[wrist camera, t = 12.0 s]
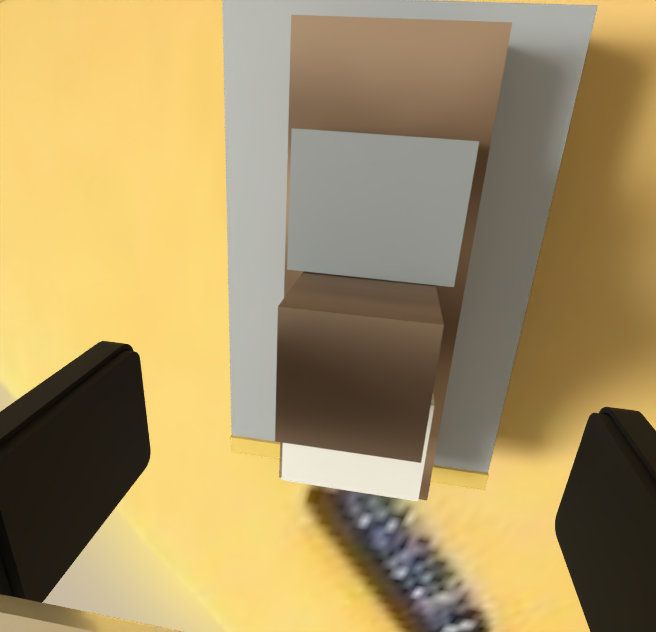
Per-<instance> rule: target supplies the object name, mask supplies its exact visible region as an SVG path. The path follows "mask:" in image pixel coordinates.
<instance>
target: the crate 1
mask: <svg viewBox="0 0 656 632" xmlns="http://www.w3.org/2000/svg"><path fill="white" fill-rule="evenodd" d="M478 146H479V141H469V140H456V139H442V138H427V137H413V136H399V135H384V134H370V133H356V132H341V131H327V130H311V129H294V128H292V133H291V164H290V195H289V225H288V256H287V270H296V271H306V272H315V273H324V274H334V275H343V276H353V277H362V278H372V279H381V280H390V281H400V282H409V283H419V284H428V285H438V286H447V287H454V284H455V278H456V273H457V267H458V261H459V255H460V250H461V244H462V238H463V232H464V227H465V221H466V215H467V209H468V204H469V198H470V192H471V186H472V181H473V175H474V169H475V164H476V158H477V152H478Z"/></svg>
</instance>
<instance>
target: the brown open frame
mask: <svg viewBox="0 0 656 632" xmlns="http://www.w3.org/2000/svg"><path fill="white" fill-rule="evenodd" d="M511 27H512V22H487V21H459V20H430V19H401V18H373V17H344V16H315V15H291V44H290V82H289V121H288V160H287V199H286V238H285V277H284V299H283V300H282V302H281V303H280V304H279V306H278V324H277V372H276V420H275V442H280V471H279V477H281V478H282V448H283V443H289V444H295V445H302V446H309V447H316V448H323V449H329V450H336V451H343V452H350V453H357V454H363V455H370V456H377V457H384V458H391V459H397V460H404V461H411V462H418V463H421V461H422V455H423V449H424V443H425V436H426V430H427V424H428V418H429V412H430V406H431V400H432V394H433V397H434V411H433V417H432V423H431V429H430V435H429V441H428V446H427V452H426V458H425V464H424V470H423V476H422V482H421V487H420V493H419V499H422V500H427V497H428V492H429V486H430V481H431V475H432V469H433V464H434V458H435V453H436V447H437V441H438V436H439V430H440V425H441V419H442V413H443V408H444V402H445V397H446V391H447V385H448V380H449V374H450V369H451V363H452V357H453V352H454V346H455V341H456V335H457V329H458V324H459V318H460V313H461V307H462V301H463V296H464V290H465V285H466V279H467V273H468V268H469V262H470V257H471V251H472V245H473V240H474V234H475V229H476V223H477V217H478V212H479V206H480V201H481V195H482V189H483V184H484V178H485V173H486V167H487V161H488V156H489V150H490V144H491V139H492V133H493V128H494V122H495V116H496V111H497V105H498V100H499V94H500V88H501V83H502V77H503V72H504V66H505V60H506V55H507V49H508V44H509V38H510V32H511ZM292 128H294V129H311V130H327V131H341V132H356V133H370V134H384V135H399V136H413V137H427V138H442V139H456V140H469V141H479V146H478V152H477V158H476V164H475V169H474V175H473V181H472V186H471V192H470V198H469V204H468V209H467V215H466V221H465V227H464V232H463V238H462V244H461V250H460V255H459V261H458V267H457V273H456V278H455V284H454V287H447V286H438V285H428V284H419V283H409V282H400V281H390V280H381V279H372V278H362V277H353V276H343V275H334V274H324V273H315V272H306V271H296V270H287V256H288V225H289V195H290V164H291V133H292Z"/></svg>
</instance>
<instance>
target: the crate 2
mask: <svg viewBox="0 0 656 632" xmlns="http://www.w3.org/2000/svg"><path fill="white" fill-rule="evenodd" d="M433 411H434V397H433V394H432V400H431V406H430V412H429V418H428V424H427V430H426V436H425V443H424V449H423V455H422V461H421V463H418V462H411V461H404V460H397V459H391V458H384V457H377V456H370V455H363V454H357V453H350V452H343V451H336V450H329V449H323V448H316V447H309V446H302V445H295V444H289V443H283V448H282V480H285V481H292V482H298V483H304V484H311V485H317V486H323V487H330V488H336V489H342V490H349V491H355V492H361V493H368V494H374V495H381V496H387V497H393V498H400V499H406V500H412V501H418V499H419V493H420V487H421V482H422V476H423V470H424V464H425V458H426V452H427V446H428V441H429V435H430V429H431V423H432V417H433Z"/></svg>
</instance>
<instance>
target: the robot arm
mask: <svg viewBox="0 0 656 632" xmlns="http://www.w3.org/2000/svg"><path fill="white" fill-rule="evenodd" d="M149 459H150V442H149V433H148V424H147V416H146V407H145V398H144V390H143V381H142V372H141V364H140V357H139V355H138V353H137V352H134V351H133V349H132V347H131V346H130V345H129V344H123V343H115V342H107V341H101V342H99V343H98V344H96V345H95V346H93V347H92V348H90V349H89V350H88V351H86V352H85V353H83V354H82V355H80V356H79V357H78V358H76V359H75V360H73V361H72V362H70V363H69V364H68V365H66V366H65V367H63V368H62V369H61V370H59V371H58V372H56V373H55V374H53V375H52V376H51V377H49V378H48V379H46V380H45V381H43V382H42V383H41V384H39V385H38V386H36V387H35V388H34V389H32V390H31V391H29V392H28V393H26V394H25V395H24V396H22V397H21V398H19V399H18V400H16V401H15V402H14V403H12V404H11V405H9V406H8V407H6V408H5V409H4V410H2V411H1V412H0V632H181V631H177V630H172V629H168V628H163V627H158V626H153V625H148V624H143V623H138V622H133V621H128V620H124V619H119V618H114V617H109V616H104V615H99V614H95V613H90V612H85V611H80V610H75V609H70V608H65V607H60V606H56V605H50V604H46V603H42V602H43V601H44V600H45V599H46V597H47V596H48V594H49V593H50V592H51V591H52V589H53V588H54V587H55V585H56V584H57V583H58V581H59V580H60V579H61V578H62V576H63V575H64V574H65V572H66V571H67V570H68V569H69V567H70V566H71V565H72V563H73V562H74V561H75V559H76V558H77V557H78V556H79V554H80V553H81V552H82V550H83V549H84V548H85V546H86V545H87V544H88V542H89V541H90V540H91V539H92V537H93V536H94V535H95V533H96V532H97V531H98V529H99V528H100V527H101V525H102V524H103V523H104V522H105V520H106V519H107V518H108V516H109V515H110V514H111V513H112V511H113V510H114V509H115V507H116V506H117V505H118V503H119V502H120V501H121V500H122V498H123V497H124V496H125V494H126V493H127V492H128V490H129V489H130V488H131V486H132V485H133V484H134V483H135V481H136V480H137V479H138V477H139V476H140V475H141V473H142V472H143V471H144V470H145V468H146V466H147V465H148V462H149ZM555 531H556V536H557V539H558V542H559V545H560V548H561V550H562V553H563V556H564V559H565V562H566V564H567V567H568V570H569V573H570V576H571V578H572V581H573V584H574V587H575V590H576V592H577V595H578V598H579V601H580V604H581V607H582V609H583V612H584V615H585V618H586V621H587V623H588V626H589V629H590V632H656V431H655V430H654V428H653V427H652V426H651V425H650V423H649V422H648V421H647V420H646V418H645V417H644V416H643V415H642V414H641V413H640V412H639V411H634V410H626V409H618V408H611V407H604V408H602V409H601V410H600V412H599V413H592V414H591V415H590V417H589V419H588V421H587V424H586V427H585V430H584V433H583V436H582V440H581V443H580V446H579V449H578V452H577V455H576V458H575V461H574V464H573V467H572V470H571V473H570V476H569V479H568V482H567V485H566V488H565V491H564V494H563V497H562V500H561V503H560V506H559V509H558V512H557V515H556V519H555Z"/></svg>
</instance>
